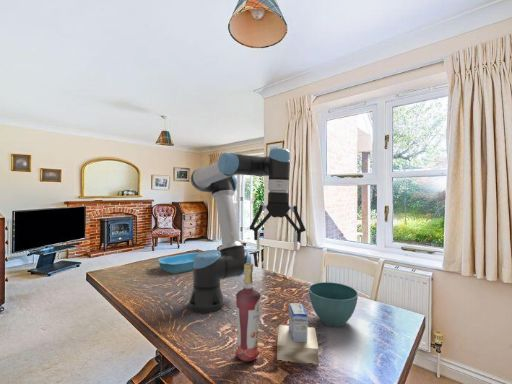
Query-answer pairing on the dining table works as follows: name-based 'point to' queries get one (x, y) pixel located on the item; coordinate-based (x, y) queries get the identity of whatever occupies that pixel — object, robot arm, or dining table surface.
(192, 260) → the casserole dish
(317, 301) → the plant pot
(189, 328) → the dining table surface
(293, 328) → the medicine box
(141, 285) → the dining table surface
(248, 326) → the liquor
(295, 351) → the birch block
